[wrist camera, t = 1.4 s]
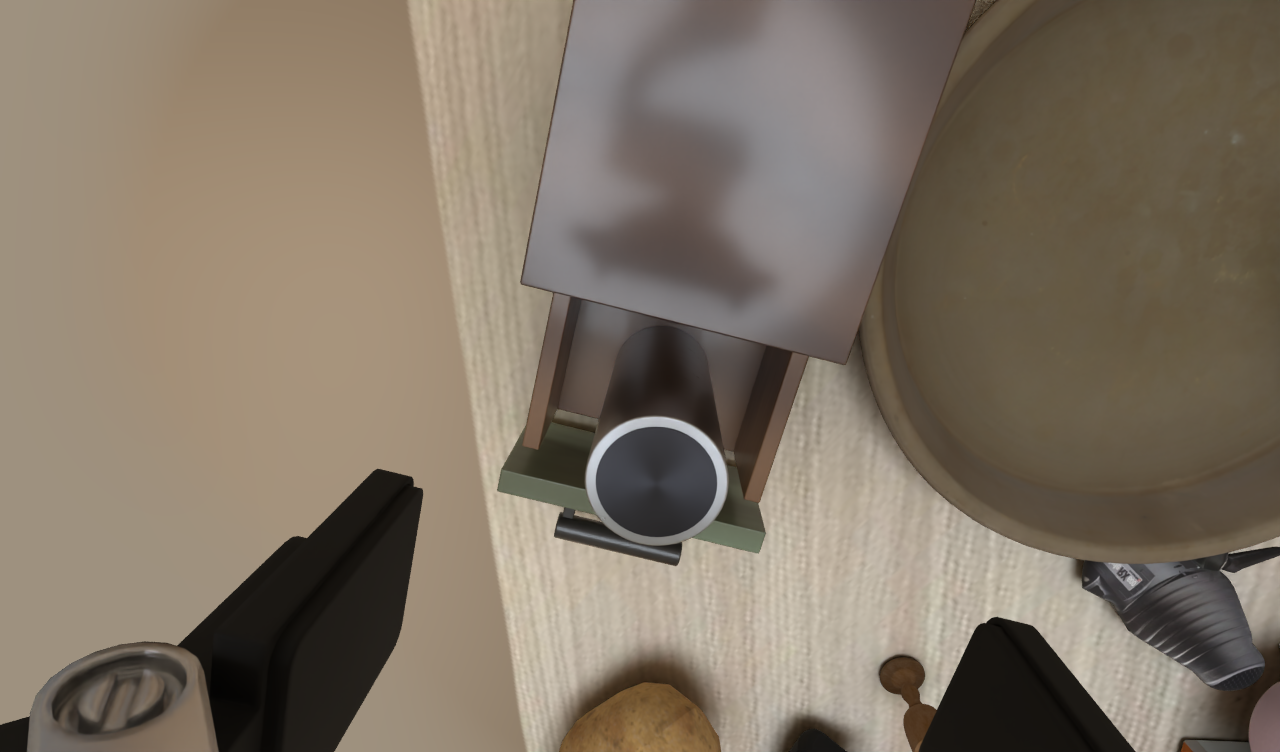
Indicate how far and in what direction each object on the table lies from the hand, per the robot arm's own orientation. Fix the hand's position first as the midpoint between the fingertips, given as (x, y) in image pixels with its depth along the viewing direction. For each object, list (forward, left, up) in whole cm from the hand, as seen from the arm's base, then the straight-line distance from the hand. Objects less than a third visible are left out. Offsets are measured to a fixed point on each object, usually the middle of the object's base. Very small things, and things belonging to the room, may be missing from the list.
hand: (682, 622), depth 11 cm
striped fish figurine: (+7, +36, -28) cm, 46 cm away
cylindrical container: (+3, 0, -25) cm, 25 cm away
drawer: (+5, 0, -26) cm, 26 cm away
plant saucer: (-8, +23, -27) cm, 36 cm away
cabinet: (-8, 0, -27) cm, 28 cm away
